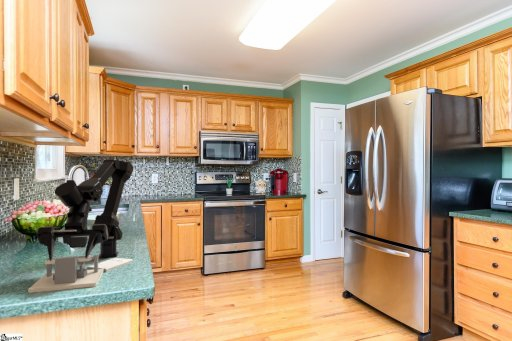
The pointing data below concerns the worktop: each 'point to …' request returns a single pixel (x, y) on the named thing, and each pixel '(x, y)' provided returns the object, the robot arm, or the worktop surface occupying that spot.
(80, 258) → the brushed grey panel
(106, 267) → the external hard drive
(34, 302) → the worktop surface
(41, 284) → the board
